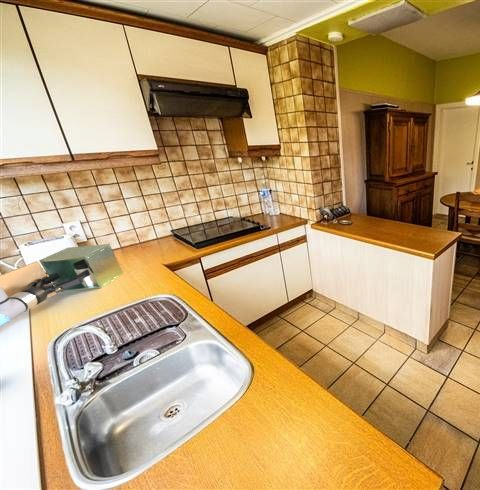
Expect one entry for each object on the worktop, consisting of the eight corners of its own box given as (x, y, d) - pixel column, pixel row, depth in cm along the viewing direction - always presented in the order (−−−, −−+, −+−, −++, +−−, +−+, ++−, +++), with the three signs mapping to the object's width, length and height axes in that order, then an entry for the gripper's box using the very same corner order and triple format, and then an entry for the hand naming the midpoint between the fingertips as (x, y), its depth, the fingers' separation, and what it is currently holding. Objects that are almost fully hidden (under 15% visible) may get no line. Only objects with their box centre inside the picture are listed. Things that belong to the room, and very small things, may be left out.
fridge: (102, 288, 133) (85, 256, 126) (58, 292, 131) (38, 260, 124) (123, 273, 147) (109, 243, 139) (84, 277, 145) (67, 247, 138)
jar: (109, 279, 139) (99, 258, 135) (91, 287, 132) (79, 266, 128) (99, 276, 142) (88, 257, 137) (80, 284, 135) (68, 264, 130)
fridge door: (-9, 320, 112) (-37, 284, 105) (45, 293, 131) (25, 261, 124) (4, 320, 112) (-22, 284, 105) (58, 293, 130) (38, 261, 123)
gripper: (-1, 309, 110) (49, 283, 130) (65, 302, 113) (104, 277, 132) (-12, 294, 107) (40, 269, 127) (56, 287, 110) (97, 264, 129)
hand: (73, 273), depth 129 cm, fingers open, 13 cm apart
